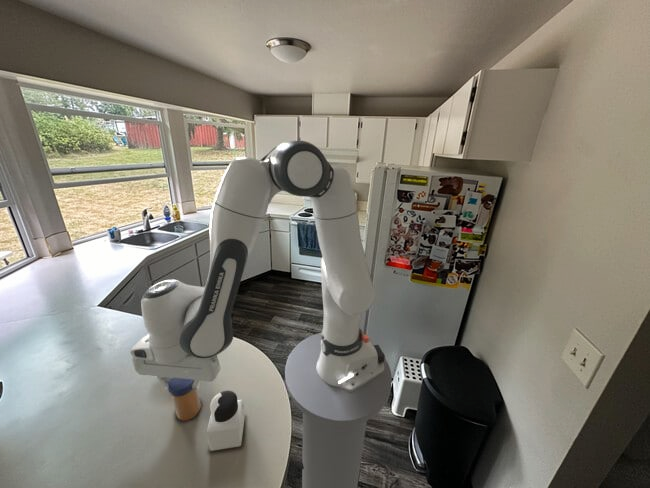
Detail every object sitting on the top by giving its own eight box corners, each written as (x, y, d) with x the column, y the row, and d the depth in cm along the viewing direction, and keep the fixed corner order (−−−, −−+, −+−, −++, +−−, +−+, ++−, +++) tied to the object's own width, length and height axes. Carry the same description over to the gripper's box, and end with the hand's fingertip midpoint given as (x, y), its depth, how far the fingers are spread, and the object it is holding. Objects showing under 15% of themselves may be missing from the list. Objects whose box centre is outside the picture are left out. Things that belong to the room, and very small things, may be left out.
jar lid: (180, 373, 68) (179, 368, 67) (201, 377, 67) (200, 372, 67) (163, 394, 62) (161, 388, 62) (185, 398, 62) (184, 393, 61)
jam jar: (201, 396, 72) (195, 369, 68) (200, 415, 67) (193, 387, 63) (178, 403, 70) (170, 376, 66) (175, 424, 65) (167, 395, 61)
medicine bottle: (244, 417, 67) (241, 384, 63) (241, 446, 60) (236, 412, 56) (216, 421, 66) (211, 388, 61) (209, 451, 59) (203, 417, 55)
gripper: (221, 338, 62) (226, 379, 67) (143, 331, 63) (154, 372, 68) (208, 358, 56) (215, 401, 61) (122, 350, 58) (136, 393, 62)
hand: (182, 386), depth 65 cm, fingers closed on jar lid, 6 cm apart
